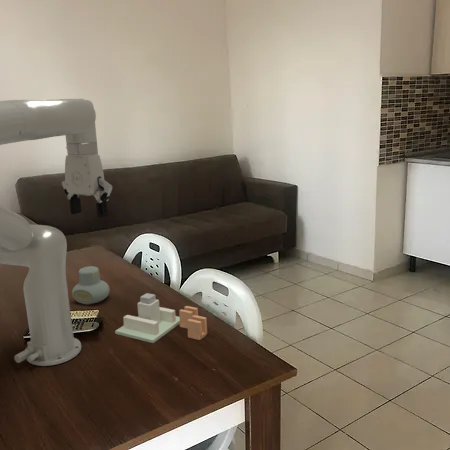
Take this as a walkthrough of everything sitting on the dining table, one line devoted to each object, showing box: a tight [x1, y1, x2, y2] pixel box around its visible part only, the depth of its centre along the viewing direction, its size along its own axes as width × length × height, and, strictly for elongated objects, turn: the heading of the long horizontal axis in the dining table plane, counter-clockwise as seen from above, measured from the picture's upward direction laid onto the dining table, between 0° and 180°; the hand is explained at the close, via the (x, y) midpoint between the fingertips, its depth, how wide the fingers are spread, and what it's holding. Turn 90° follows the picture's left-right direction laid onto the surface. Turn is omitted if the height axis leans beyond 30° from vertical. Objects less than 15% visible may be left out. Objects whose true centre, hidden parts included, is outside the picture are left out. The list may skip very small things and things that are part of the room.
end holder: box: [114, 306, 180, 344], centre depth 130 cm, size 14×12×4 cm
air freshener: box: [71, 265, 111, 306], centre depth 147 cm, size 11×8×10 cm
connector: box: [137, 292, 161, 323], centre depth 129 cm, size 4×4×8 cm
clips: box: [178, 305, 208, 341], centre depth 127 cm, size 8×9×5 cm
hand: (89, 215), depth 130 cm, fingers open, 9 cm apart
